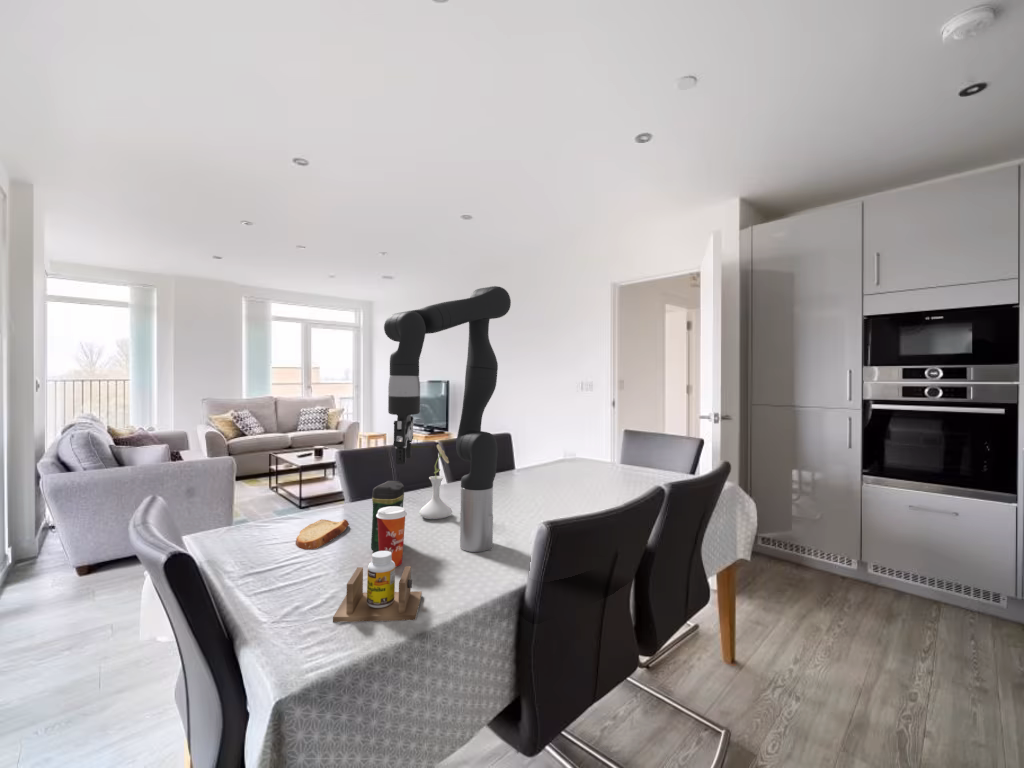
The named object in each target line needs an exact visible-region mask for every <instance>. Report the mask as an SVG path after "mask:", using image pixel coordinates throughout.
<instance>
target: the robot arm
mask: <svg viewBox="0 0 1024 768" xmlns="http://www.w3.org/2000/svg"><path fill="white" fill-rule="evenodd" d="M511 303H512V302H511V297H510V294H509V292H508V291H507V289H505V288H503V287H501V286H496V285H494V286H487V287H481V288H477V289H475V290H473V291H472V293H471V295H470V297H468V298H462V299H455V300H448V301H443V302H438V303H435V304H431V305H427V306H425V307H422V308H418V309H414V310H406V311H402V312H396V313H393V314H391V315H389V316H388V317H387V318H386V320H385V321H384V323H383V324H384V325H383V330H384V333H385V335H386V338H388V339H390V340H392V341H393V342H397V343H398V347H397V349H396V350H395V351H393V352H392V353H391V354H390V356H389V377H388V378H389V379H388V391H387V392H388V396H387V397H388V399H387V400H388V403H387V404H388V405H387V406H388V407H387V410H388V411H387V412H388V414H389V415H394V416H397V417H396V419H397V420H394V421H393V443H392V444H393V447H394V448H395V463H396V465H405V464H406V463H407V459H410V458H411V457H412V442H413V439H414V416H413V415H419V414H420V413H421V381H420V358H421V354H422V351H423V346H424V343H425V338H426V335H428V334H436V333H439V332H442V331H446V330H448V329H451V328H455V327H458V326H460V325H464V324H466V323H468V343H467V358H466V365H465V376H464V378H465V379H464V392H463V399H462V407H461V408H462V409H461V414H460V420H459V426H458V431H457V435H456V444H455V445H456V446H455V447H456V453H457V455H458V457H459V459H461V460H463V461H464V462H469V463H470V467H469V468H470V469H469V470H470V471H469V473H468V474H464V475H463V476H461V479H460V519H459V520H460V521H459V523H460V526H459V527H460V529H459V531H460V533H459V535H460V536H459V537H460V538H459V546H460V549H461V550H463V551H466V552H470V553H471V552H473V553H474V552H475V553H480V552H484V551H485V552H486V551H489V550H490V551H491V550H493V544H494V543H493V541H494V539H493V538H494V537H493V535H494V533H493V532H494V531H493V530H494V514H493V513H494V512H493V511H494V510H493V506H494V500H493V499H494V497H493V496H494V480H495V478H496V475H497V465H498V463H497V462H498V461H497V460H498V443H497V439H496V438H495V436H494V435H493V433H490V432H488V431H482V420H483V415H484V412H485V409H486V408H487V405H488V404H489V403H490V400H491V398H492V396H493V394H494V392H495V390H496V386H497V382H498V381H497V379H498V371H499V370H498V369H499V367H498V366H499V363H498V359H497V357H496V356H497V355H496V354H495V352H494V349H493V347H492V345H491V342H490V337H489V334H490V333H489V332H490V331H489V329H490V328H489V327H490V320H494V319H499V318H503V317H504V316H505V315H507V314H508V313H509V311H510V309H511Z"/></svg>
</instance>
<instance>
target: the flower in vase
mask: <svg viewBox="0 0 1024 768" xmlns="http://www.w3.org/2000/svg"><path fill="white" fill-rule="evenodd" d="M436 448H437V451H438V453H439V456H438V457H437V459H436V461H435V464H434V472H433V474H434V475H432V476H429V477H428V479H429V480H430V482H431V486H432V497H431V499H430V500H429V501H428V502H427V503H426V504H424V505H423V506H422V508H420V509H419V513H418V514H419V515H420V517H422V518H424V519H428V520H429V519H430V520H440V519H444V518H447V517H450V516H451V515H452V514H453V509H452V507H451V506H449V505H448V504H447V503H446V502H444V501H443V500H442V498H441V497H440V496H441V495H440V487H441V483H442V480H443V479H444V476H442V475H437V473H439V472H440V471H441V469H440V468H437V465H438V464H437V463H438V462H439V459H440V457H442V460H444V462H445V463H446V464H449V463H450V461H449V457H448V456H447V455H446V454H445V453H446V452H445V450H443V449H442V446H441V445H440V444H439V443H438V444H436Z"/></svg>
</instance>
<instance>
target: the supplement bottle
mask: <svg viewBox="0 0 1024 768" xmlns="http://www.w3.org/2000/svg"><path fill="white" fill-rule="evenodd" d="M366 580H367V584H366V593H367V604H368V605H369V606H370V607H373V608H383V607H387V606H389V605H390V604H392V603H393V601H394V592H396V591H395V588H396V583H395V582H396V567H395V563H394V561H392V554H391V552H389V551H378V552H375V551H374V552H373V553H372V554H371V562H369V564H368V565H367V579H366Z"/></svg>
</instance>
